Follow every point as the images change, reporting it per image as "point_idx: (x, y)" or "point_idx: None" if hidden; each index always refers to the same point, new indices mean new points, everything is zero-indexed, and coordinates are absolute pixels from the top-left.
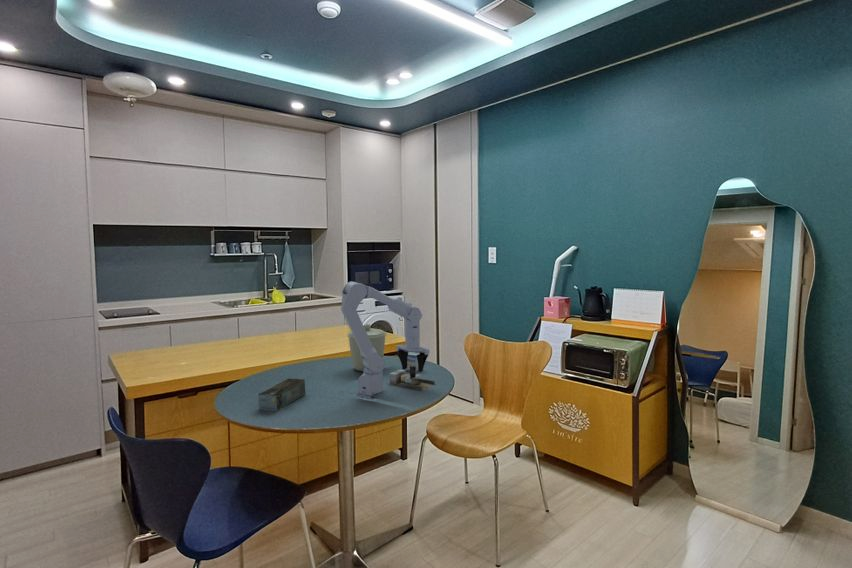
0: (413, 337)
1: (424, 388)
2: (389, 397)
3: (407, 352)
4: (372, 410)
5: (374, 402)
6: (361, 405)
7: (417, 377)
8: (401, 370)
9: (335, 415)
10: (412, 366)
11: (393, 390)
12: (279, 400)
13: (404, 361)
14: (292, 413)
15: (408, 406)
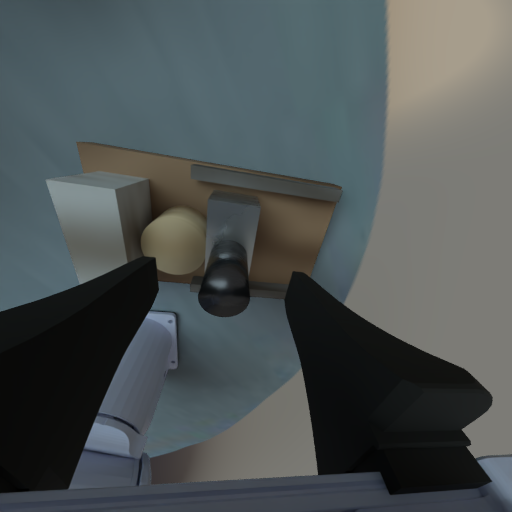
0: None
1: (304, 268)
2: (208, 336)
3: (9, 386)
4: (223, 397)
5: (194, 371)
6: (179, 390)
7: (253, 242)
8: (88, 205)
9: (173, 428)
10: (224, 301)
11: (174, 284)
12: None
13: (123, 328)
14: None
15: (291, 361)
